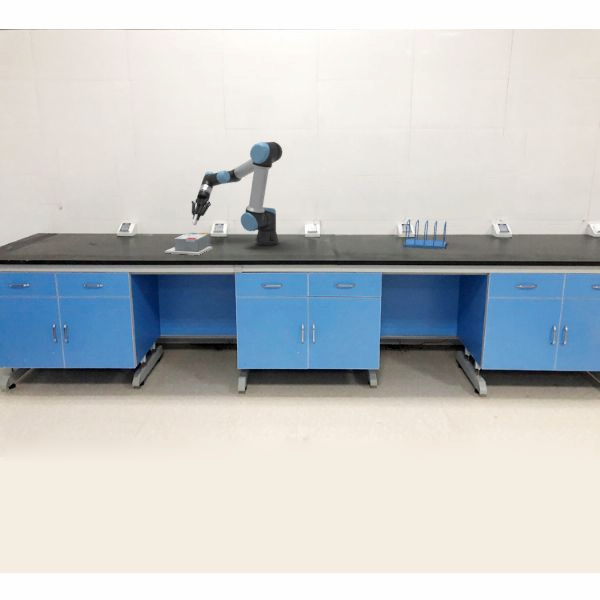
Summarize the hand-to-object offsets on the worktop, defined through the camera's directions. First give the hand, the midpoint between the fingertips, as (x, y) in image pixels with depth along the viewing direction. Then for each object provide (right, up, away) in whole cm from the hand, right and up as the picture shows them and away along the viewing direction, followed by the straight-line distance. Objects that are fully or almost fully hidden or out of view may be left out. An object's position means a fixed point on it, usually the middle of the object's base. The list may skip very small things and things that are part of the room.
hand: (194, 224), depth 363 cm
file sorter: (+145, -12, +11) cm, 146 cm away
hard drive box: (+2, -8, +6) cm, 10 cm away
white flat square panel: (-2, -17, -5) cm, 18 cm away
